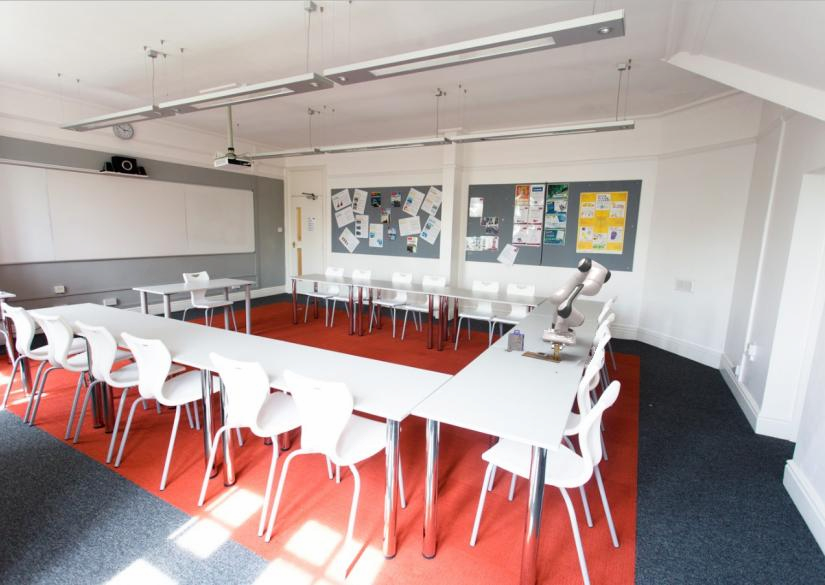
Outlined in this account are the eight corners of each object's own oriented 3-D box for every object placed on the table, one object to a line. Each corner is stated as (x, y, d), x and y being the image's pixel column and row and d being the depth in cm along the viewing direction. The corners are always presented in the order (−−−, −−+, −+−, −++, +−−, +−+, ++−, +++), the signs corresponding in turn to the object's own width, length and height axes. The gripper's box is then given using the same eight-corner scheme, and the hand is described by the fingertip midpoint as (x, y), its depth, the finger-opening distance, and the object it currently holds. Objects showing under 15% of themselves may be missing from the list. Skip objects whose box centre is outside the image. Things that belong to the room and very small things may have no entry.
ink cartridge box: (523, 351, 273) (525, 330, 271) (521, 353, 268) (523, 332, 266) (509, 349, 277) (510, 328, 275) (507, 351, 272) (508, 330, 270)
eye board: (527, 353, 269) (527, 347, 268) (564, 360, 255) (564, 354, 254) (520, 357, 259) (521, 351, 258) (558, 365, 245) (559, 359, 244)
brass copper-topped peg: (554, 358, 254) (555, 343, 252) (559, 359, 252) (560, 344, 251) (552, 359, 251) (554, 344, 250) (557, 360, 249) (559, 345, 248)
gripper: (544, 325, 260) (538, 343, 253) (577, 330, 249) (573, 349, 243) (545, 331, 264) (540, 349, 258) (578, 336, 254) (573, 354, 247)
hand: (556, 349), depth 250 cm, fingers open, 4 cm apart
